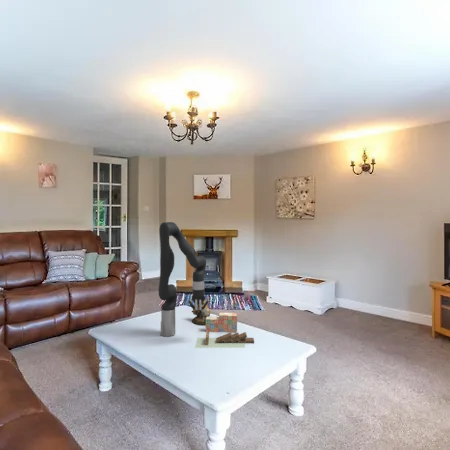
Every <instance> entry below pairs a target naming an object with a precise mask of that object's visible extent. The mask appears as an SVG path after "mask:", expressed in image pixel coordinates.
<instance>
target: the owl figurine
mask: <svg viewBox="0 0 450 450" xmlns="http://www.w3.org/2000/svg"><path fill="white" fill-rule="evenodd" d="M193 303H194V302H193ZM204 304H205V300H204V302H203V303H202V307H203V306H204ZM208 304H209V303H208ZM208 304H207V305H206V307H205V308H204V309H202V314H201V316H199V309H200V307H199V304H198V316H197V315H196V314H195V309H192V311H191V313H192V314H193V315H195V317H194V318H192V320H191V322H192V323H193V324H195V325H197V326H202V327H203V326H205V327H206V317H211V316H210V315H211V309H210V308H209V306H208ZM193 305H194V306H195V303H194V304H193Z"/></svg>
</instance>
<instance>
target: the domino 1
mask: <svg viewBox="0 0 450 450" xmlns="http://www.w3.org/2000/svg"><path fill="white" fill-rule="evenodd" d="M205 332H206V331H205ZM205 338H206V345H208V344H209V338H210V332H209V331H207V332H206V333H205Z"/></svg>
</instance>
